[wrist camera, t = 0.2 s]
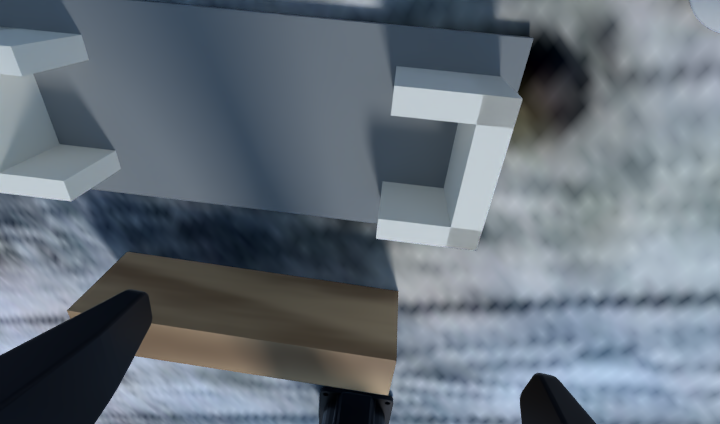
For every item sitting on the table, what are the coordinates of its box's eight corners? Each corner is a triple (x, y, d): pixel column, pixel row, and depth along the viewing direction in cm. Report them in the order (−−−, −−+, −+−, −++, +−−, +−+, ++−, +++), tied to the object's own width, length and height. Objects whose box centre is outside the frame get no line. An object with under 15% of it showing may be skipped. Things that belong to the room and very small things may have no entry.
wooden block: (391, 322, 29) (388, 395, 24) (139, 284, 29) (84, 348, 24) (398, 289, 27) (396, 360, 22) (129, 249, 28) (67, 310, 22)
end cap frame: (473, 229, 23) (487, 279, 19) (46, 178, 25) (-22, 215, 21) (529, 36, 17) (565, 53, 14) (-35, -17, 19) (-151, -16, 15)
